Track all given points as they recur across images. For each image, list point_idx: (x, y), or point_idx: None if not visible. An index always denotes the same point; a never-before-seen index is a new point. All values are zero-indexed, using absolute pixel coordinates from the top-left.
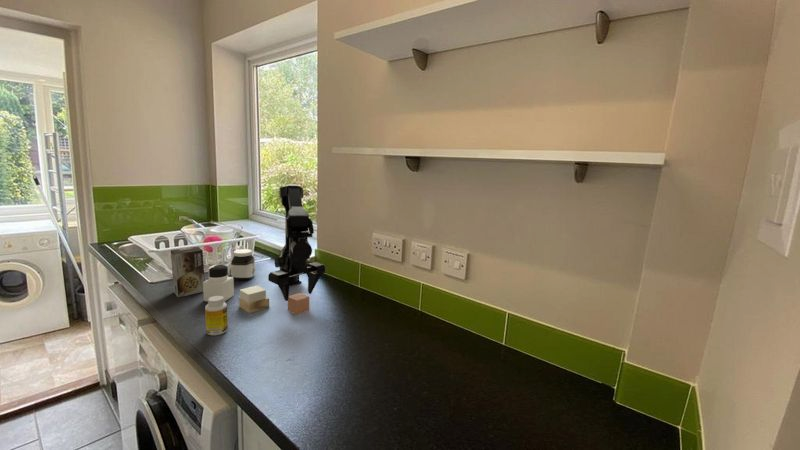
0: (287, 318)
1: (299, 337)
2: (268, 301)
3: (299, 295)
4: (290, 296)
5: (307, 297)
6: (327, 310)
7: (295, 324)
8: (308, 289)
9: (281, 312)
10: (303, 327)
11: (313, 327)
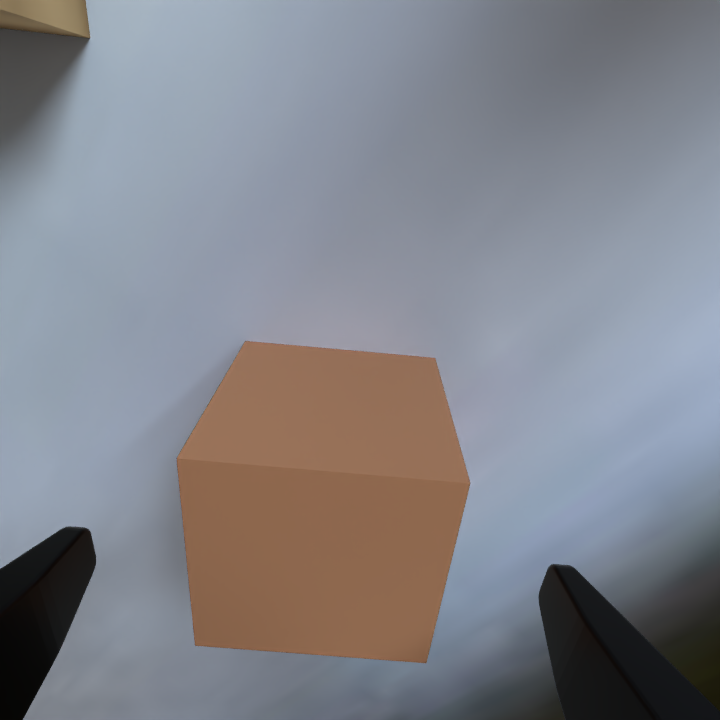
0: (133, 489)
1: (64, 716)
2: (4, 12)
3: (359, 557)
4: (216, 492)
5: (393, 657)
6: (516, 606)
7: (133, 602)
8: (579, 625)
9: (151, 338)
10: (158, 661)
11: (215, 697)
